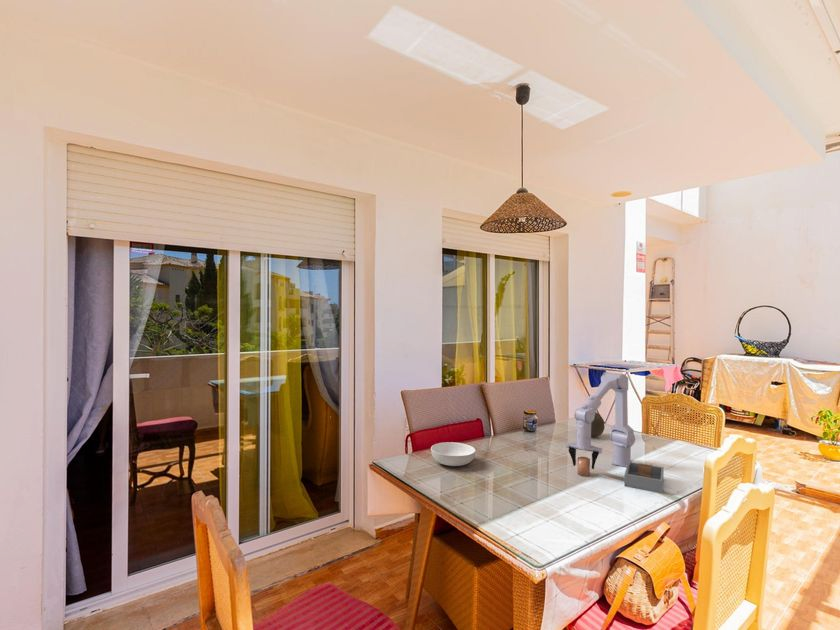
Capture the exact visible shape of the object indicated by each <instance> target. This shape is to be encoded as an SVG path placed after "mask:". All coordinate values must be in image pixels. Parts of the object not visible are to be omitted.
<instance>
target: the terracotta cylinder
mask: <svg viewBox="0 0 840 630" xmlns="http://www.w3.org/2000/svg"><path fill="white" fill-rule="evenodd" d="M590 470H591V458H590V457H587V456H578V457H577V475H578V476H581V477H586V478H587V477H591V476H590V475H591V474H590V472H591V471H590Z"/></svg>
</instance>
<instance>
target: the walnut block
mask: <svg viewBox="0 0 840 630" xmlns="http://www.w3.org/2000/svg"><path fill="white" fill-rule="evenodd" d="M638 463H639V462H638ZM652 466H653V465H652V464H647V463H641V462H640V463H639V464H638V476H642V477H647V478H652Z"/></svg>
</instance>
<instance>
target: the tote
mask: <svg viewBox="0 0 840 630" xmlns="http://www.w3.org/2000/svg"><path fill="white" fill-rule="evenodd" d="M638 464H639V462H634V461H632V462H628V465H627V467H625V468H626V469H625V471H624V487H626V488H632V489H636V490H642V491H648V492H651V493H657V494H664V493H663V492H664V475H665V473H664V472H665V471H664V470H665V469H664V467H662V466H657V465H652V478H647V477H642V476H638Z"/></svg>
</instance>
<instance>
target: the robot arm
mask: <svg viewBox="0 0 840 630" xmlns="http://www.w3.org/2000/svg"><path fill="white" fill-rule="evenodd" d="M609 390H612V391H613V392H614V408H615V409H614V411H615V412H614V413H615V414H614V415H615V416H614V417H615V418H614V420H615V424H614V425H612V426H611V427H610V432H609V439H610V441H611V443H612V444H613V459H612V461H611V465H614V466H619V467H625V468H627V465H628V462H633V460H631V452H632V451H631V447H633V445H635V442H636V436H635V432H634V429H633V428H632V427H631V426H630V425H629V424H628V422H629V419H628V414H629V413H628V407H629V406H628V391H629V377H628V376H627V375H626V374H625V373H617V372H611V371H603V373H602V375H601V376H600V384H599V385H598V387H597V388H596V390H595V392H594V394H593V395H589V396H588V397H587V399H586V400H585V402H584V403H583V404H582V406H581V407H579V408H577V409H576V410H575V411H574V412H575V413H574V418H575V424H576V426H577V428H576V432H577V433H576V443H575V442H567V443H566V449H568V453H569V456H570V457H571V460H572V465H573V467H575V466H576V464H577V458H576V455H577V450H579V451H585V452H590V453H591V452H592V453H591V470H594V469H595V465H596V461H597V459H598V457H599V454H600V455H601V454H603V448H602V447H600V446H594V445H592V437H591V422H593V420H594V418H595V414H596V413H595V412H597V411H598V409H599V408H600V407H601V405H602V399H603V398H604V396H605V395H607V393H608V392H609Z"/></svg>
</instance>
